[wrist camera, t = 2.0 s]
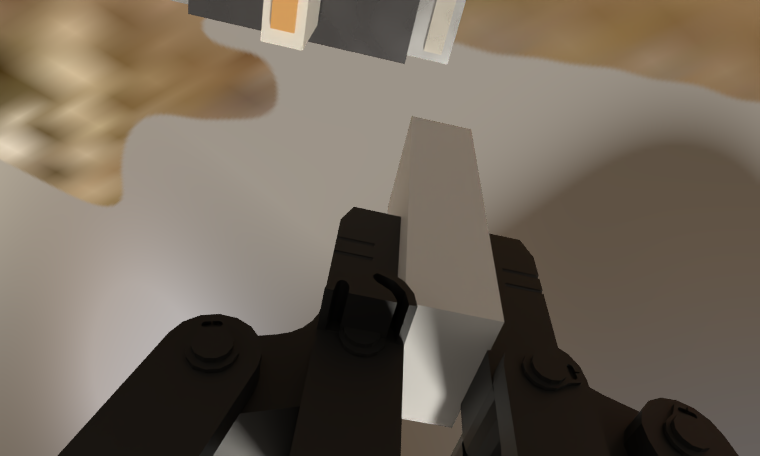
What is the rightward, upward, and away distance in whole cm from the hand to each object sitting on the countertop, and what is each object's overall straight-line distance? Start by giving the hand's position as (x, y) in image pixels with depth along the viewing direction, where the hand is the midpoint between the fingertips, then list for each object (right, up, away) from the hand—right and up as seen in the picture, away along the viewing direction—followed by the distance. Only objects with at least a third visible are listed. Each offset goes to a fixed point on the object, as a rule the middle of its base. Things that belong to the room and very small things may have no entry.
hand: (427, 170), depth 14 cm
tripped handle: (-5, +10, +11) cm, 16 cm away
